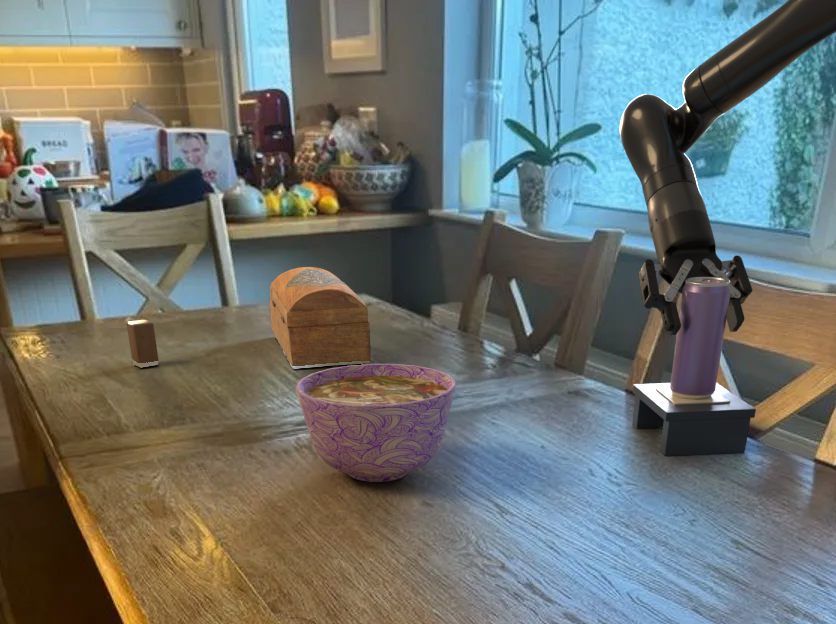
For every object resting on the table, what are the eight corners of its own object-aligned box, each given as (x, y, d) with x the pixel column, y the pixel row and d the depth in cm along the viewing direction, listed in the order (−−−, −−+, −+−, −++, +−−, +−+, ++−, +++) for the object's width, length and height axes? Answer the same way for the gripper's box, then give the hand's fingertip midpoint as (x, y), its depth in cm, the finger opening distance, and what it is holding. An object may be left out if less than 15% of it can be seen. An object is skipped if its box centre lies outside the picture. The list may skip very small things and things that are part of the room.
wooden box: (376, 364, 167) (375, 286, 161) (288, 370, 165) (282, 291, 158) (349, 331, 193) (346, 263, 187) (271, 336, 190) (266, 267, 184)
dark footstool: (708, 421, 134) (714, 379, 131) (748, 452, 121) (756, 407, 118) (628, 424, 133) (633, 382, 130) (660, 456, 121) (666, 411, 118)
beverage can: (707, 402, 121) (725, 285, 114) (663, 396, 124) (678, 281, 117) (719, 391, 125) (737, 278, 118) (676, 386, 128) (691, 275, 121)
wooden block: (139, 369, 168) (133, 325, 164) (132, 365, 171) (125, 321, 167) (160, 366, 170) (154, 322, 166) (152, 362, 173) (146, 319, 169)
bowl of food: (300, 449, 126) (295, 366, 120) (442, 442, 127) (443, 360, 122) (302, 503, 108) (295, 409, 103) (466, 495, 110) (469, 401, 104)
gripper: (640, 209, 119) (666, 316, 114) (741, 205, 121) (771, 310, 116) (620, 247, 126) (644, 349, 121) (716, 243, 128) (743, 343, 123)
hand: (706, 330), depth 119 cm, fingers open, 8 cm apart
